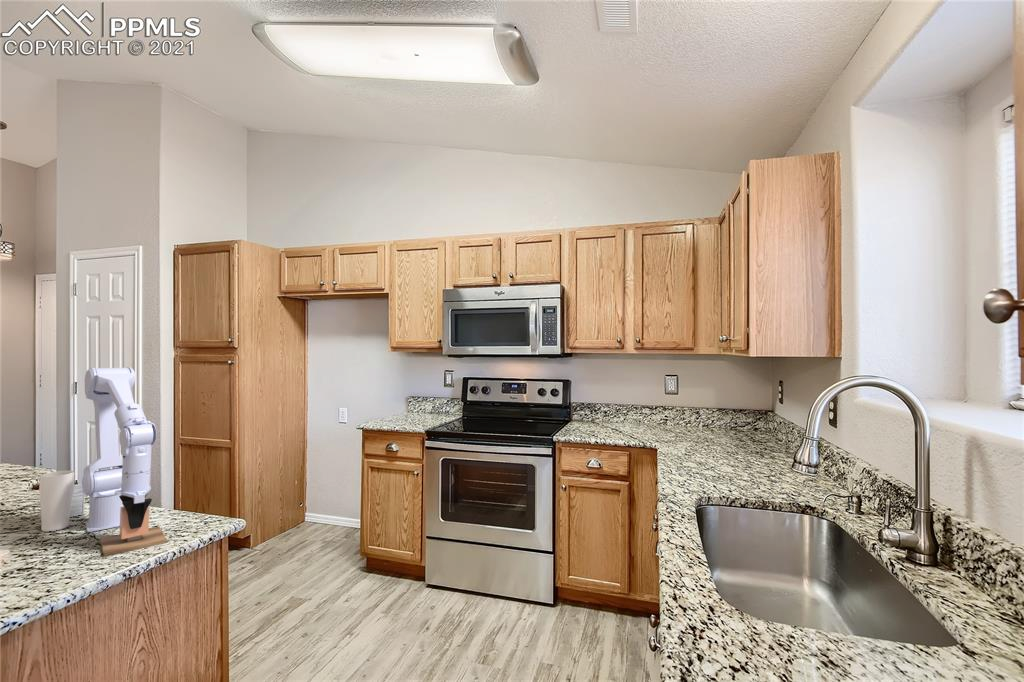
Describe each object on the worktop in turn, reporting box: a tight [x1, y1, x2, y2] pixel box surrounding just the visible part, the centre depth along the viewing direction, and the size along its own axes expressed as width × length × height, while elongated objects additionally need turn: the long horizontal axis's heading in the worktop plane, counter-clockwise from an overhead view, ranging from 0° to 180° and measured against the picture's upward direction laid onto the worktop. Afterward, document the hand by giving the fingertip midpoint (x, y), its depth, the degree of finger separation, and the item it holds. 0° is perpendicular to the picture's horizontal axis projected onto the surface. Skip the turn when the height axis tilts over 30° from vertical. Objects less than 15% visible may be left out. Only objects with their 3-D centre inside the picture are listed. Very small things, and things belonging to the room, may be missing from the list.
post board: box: [99, 526, 168, 558], centre depth 116 cm, size 12×12×5 cm
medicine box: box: [69, 483, 86, 518], centre depth 132 cm, size 8×4×9 cm, turn 141°
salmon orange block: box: [119, 505, 150, 539], centre depth 116 cm, size 5×5×7 cm
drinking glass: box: [38, 470, 75, 533], centre depth 124 cm, size 7×7×15 cm
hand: (134, 524), depth 116 cm, fingers closed on salmon orange block, 5 cm apart
